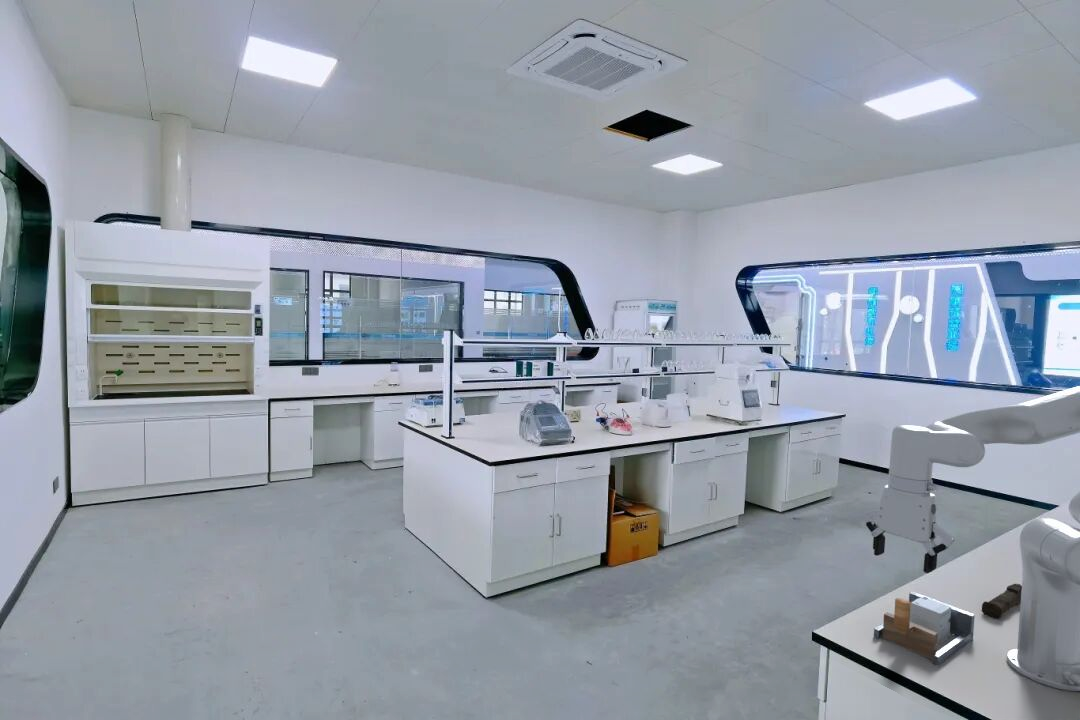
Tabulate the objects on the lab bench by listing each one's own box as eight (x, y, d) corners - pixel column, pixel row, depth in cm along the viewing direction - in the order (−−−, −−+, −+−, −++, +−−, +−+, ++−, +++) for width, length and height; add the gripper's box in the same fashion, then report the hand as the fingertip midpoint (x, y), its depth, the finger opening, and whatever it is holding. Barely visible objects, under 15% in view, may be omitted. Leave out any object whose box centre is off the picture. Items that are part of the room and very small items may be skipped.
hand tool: (1000, 622, 133) (1001, 604, 133) (980, 614, 136) (981, 596, 136) (1033, 604, 142) (1034, 587, 142) (1014, 597, 146) (1015, 580, 146)
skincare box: (938, 645, 122) (940, 613, 122) (908, 632, 127) (910, 602, 127) (950, 637, 126) (952, 606, 125) (920, 625, 131) (921, 595, 130)
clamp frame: (937, 666, 115) (939, 638, 114) (873, 636, 125) (875, 611, 125) (972, 640, 125) (974, 614, 124) (910, 615, 135) (912, 591, 135)
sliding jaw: (923, 667, 114) (926, 613, 113) (872, 643, 122) (875, 593, 122) (936, 657, 117) (939, 605, 117) (885, 635, 126) (888, 586, 125)
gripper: (965, 492, 111) (957, 574, 113) (875, 472, 126) (869, 544, 127) (949, 498, 107) (942, 583, 108) (858, 476, 122) (852, 551, 123)
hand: (902, 562), depth 118 cm, fingers open, 9 cm apart
